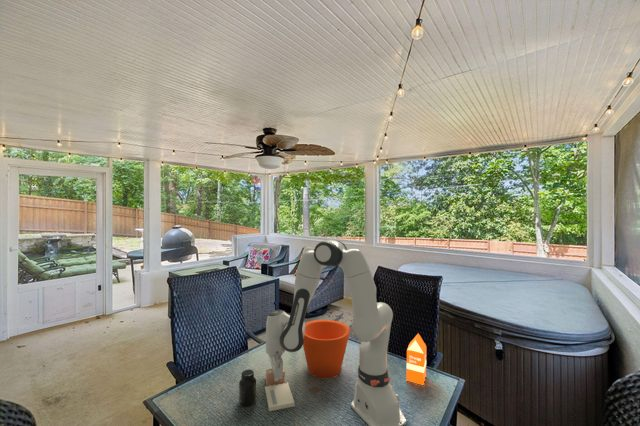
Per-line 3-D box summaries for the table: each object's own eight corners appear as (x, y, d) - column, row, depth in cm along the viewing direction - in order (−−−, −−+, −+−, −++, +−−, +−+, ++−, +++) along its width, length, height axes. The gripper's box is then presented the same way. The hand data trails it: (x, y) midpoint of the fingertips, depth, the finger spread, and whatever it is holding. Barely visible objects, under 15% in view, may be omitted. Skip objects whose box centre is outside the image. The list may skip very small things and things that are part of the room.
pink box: (284, 382, 125) (284, 371, 125) (266, 385, 123) (266, 374, 123) (283, 377, 129) (283, 366, 129) (265, 380, 126) (265, 369, 126)
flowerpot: (349, 357, 148) (349, 320, 148) (349, 386, 123) (350, 342, 124) (303, 354, 151) (304, 318, 151) (294, 382, 126) (295, 338, 126)
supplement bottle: (249, 394, 117) (249, 366, 117) (259, 401, 113) (260, 371, 113) (235, 402, 112) (235, 373, 112) (245, 410, 107) (245, 379, 107)
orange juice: (406, 381, 128) (406, 338, 128) (409, 372, 135) (410, 331, 136) (424, 386, 124) (424, 341, 124) (426, 376, 132) (426, 334, 132)
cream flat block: (294, 406, 110) (294, 402, 110) (269, 411, 107) (269, 407, 107) (287, 385, 123) (287, 381, 123) (265, 389, 120) (265, 385, 120)
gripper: (286, 357, 117) (286, 390, 117) (278, 336, 136) (278, 364, 136) (271, 359, 115) (271, 392, 115) (265, 338, 134) (265, 366, 134)
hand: (275, 377), depth 126 cm, fingers closed on pink box, 4 cm apart
